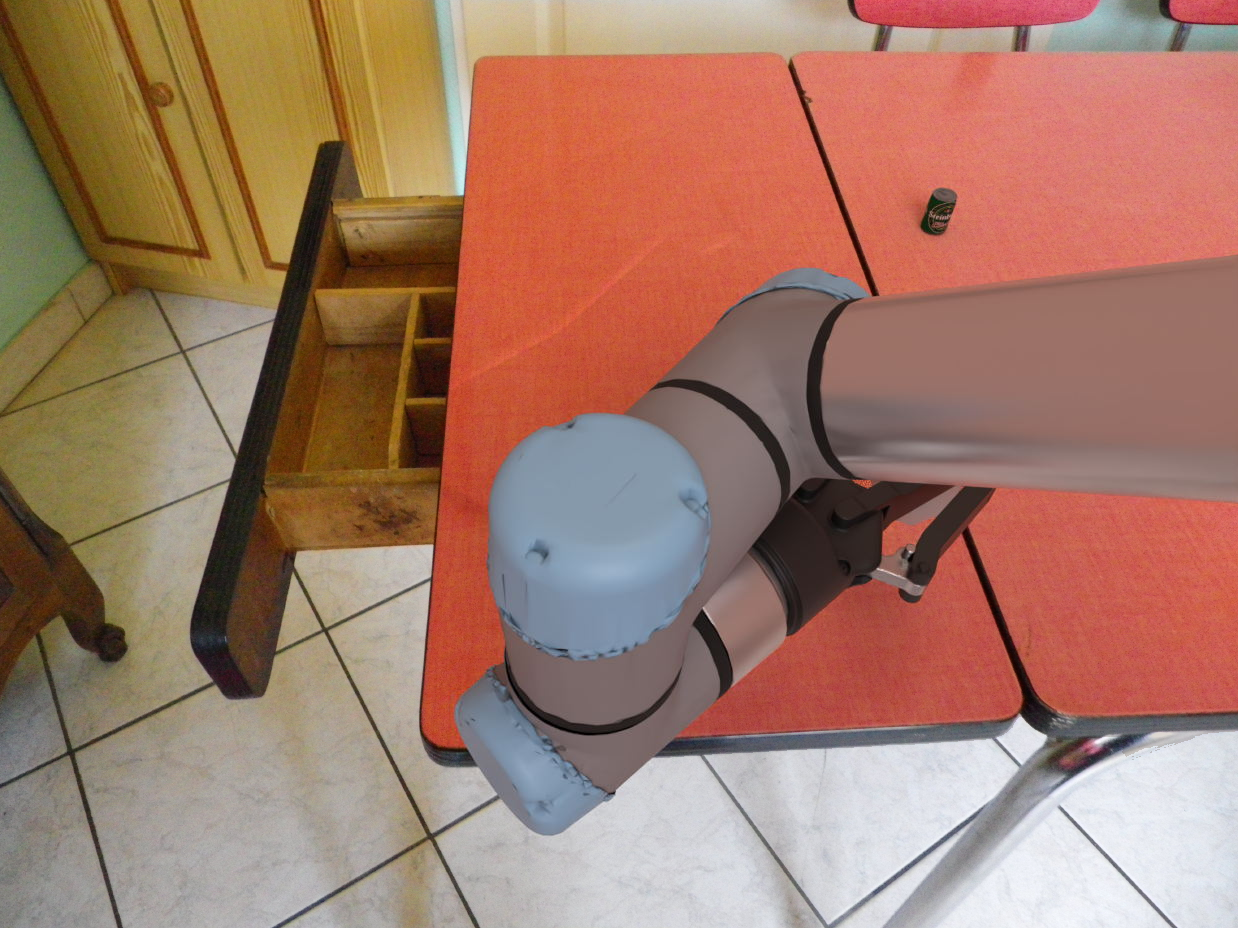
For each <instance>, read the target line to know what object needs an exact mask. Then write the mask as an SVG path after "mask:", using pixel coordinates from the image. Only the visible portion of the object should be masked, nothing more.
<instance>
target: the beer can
mask: <svg viewBox="0 0 1238 928" xmlns="http://www.w3.org/2000/svg"><path fill="white" fill-rule="evenodd" d="M957 199H958V194H957V193H956V191H955V190H953V189H951V188H948V187H937V188H935V189H934V190H933V191H932V193H931V195H930V197H929V199H928V202H927V204H926V207H925V210H924V213H923V216H922V219H921V223H920V227H921V229H922V231H924V232H925V233H926V234H929V235H934V236H938V235H942V234H944V233H945V232H946V231H947V229H948V227H949V223H950V221H951V218H952V215H953V213H954V210H955V208H956V205H957Z"/></svg>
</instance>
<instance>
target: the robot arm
mask: <svg viewBox="0 0 1238 928" xmlns="http://www.w3.org/2000/svg"><path fill="white" fill-rule="evenodd" d="M871 480H877V481H880V482H879V483H877V484H875V485H873V486H872V485H871V486H869V487H865V486H863V485H861V484H860V483H857V482H855V481H871ZM954 486H961V489H960V491H959V492H958V494H957V495H956V496H955V497H954V498H953V499H952V500H951V501H950V502H949V504H948V505H947V506H946V507H945V508H944V509H943V510H942V511H941V512H940V514H939V515H938V516H937V517H934V518H933V520H932V521H931V522H930V523H929V525H927V527H925V529H924V530H923V532H922V533H921V535H920V536H919V539H918V540H917V542H916V544H915V545H914V544H912V543H907V544H905V546H901V547H899V548H897V550H896V551H895V552H894V553H892V554H890V555H884V554H883V537H884V535H883V534H884V531H886V529H888V528H889V526H890V525H891V524H893V523H894V522H897V521H896V520H897V519H899V518H901V517H903V516H904V515H906V514H908V513H909V512H911V511H913V510H915V509H916V508H918V507H920V506H922V505H923V504H925V503H927V502H928V501H930V500H932V499H934V498H935V497H937V496H939V495H940V494H942V493H944V492H946V491H947V490H949V489H951V488H953V487H954ZM997 489H1004V490H1020V491H1035V492H1050V493H1051V492H1052V493H1067V494H1085V495H1098V496H1099V495H1100V496H1112V497H1113V496H1115V497H1130V498H1145V499H1160V500H1161V499H1163V500H1176V501H1177V500H1178V501H1194V502H1206V503H1207V502H1209V503H1224V504H1238V254H1233V255H1232V254H1231V255H1225V256H1224V255H1223V256H1215V257H1206V258H1197V259H1189V260H1180V261H1171V262H1164V263H1163V262H1161V263H1154V264H1144V265H1137V266H1126V267H1118V268H1110V269H1100V270H1093V271H1084V272H1083V271H1082V272H1075V273H1068V274H1067V273H1066V274H1057V275H1050V276H1042V277H1033V278H1032V277H1031V278H1023V279H1015V280H1005V281H999V282H998V281H997V282H989V283H988V282H987V283H979V284H971V285H963V286H961V285H960V286H953V287H946V288H945V287H944V288H936V289H928V290H919V291H910V292H909V291H908V292H900V293H893V294H884V295H876V296H873V295H871V294H870V293H869V292H868V291H866V290H865V289H864V288H863V287H862V286H861V285H859V283H857V282H855V281H853V280H851V279H850V278H848V277H847V276H838V275H836V274H833V273H831V272H827V271H824V269H823V268H820V267H798V268H792V269H788V270H786V271H783V272H779V273H777V274H776V275H774V276H771V278H769V279H768V280H766V281H765V282H764V283H762V284H761V285H759V287H757V288H756V289H755V290H754V291H752V292H750V293H748V294H745V295H744V296H743V297H742V298H741V299H739V301H737V302H736V303H735V304H734V305H731V306H730V307H728V308H727V310H726V311H725V312H723V314H722V316H721V317H720V318H719V319H718V320H717V322H716V323H715V325H714V327H713V328H712V329H711V330H709V332H708V333H707V334H706V335H704V337H702V338H701V340H699V342H698V343H696V344H695V346H693V347H692V348H691V349H690V350H689V351H688V352H687V353H686V354H685V355H684V356H683V357H682V358H681V359H680V360H679V361H677V363H676V364H674V365H673V367H672V368H671V369H670V370H668V372H666V373H665V374H664V375H663V376H662V377H661V378H660V379H659V380H658V381H657V382H656V383H655V384H654V385H653V386H652V387H651V388H650V389H649V390H648V391H647V392H646V393H644V394H643V395H642V396H641V397H640V398H639V399H637V400H636V401H635V403H633V404H632V405H631V406H630V407H629V408H628V409H627V410H626V411H625V412H624V413H623V414H620V413H618V414H617V413H612V412H588V413H587V412H586V413H580V414H577V415H574V416H573V418H571V420H569V421H566V422H562V423H560V424H559V423H558V424H556V425H553V426H549V425H543V426H541V427H539V428H538V429H536V430H534V431H533V432H531V433H530V434H529V435H527V436H526V437H524V438H523V439H522V440H521V441H520V442H519V443H517V444H516V445H515V446H514V447H513V449H511V451H510V452H509V453H508V454H507V456H506V457H505V459H504V460H503V462H502V463H501V464H500V465H499V468H498V469H497V472H496V474H495V477H494V478H493V482H492V483H491V487H490V492H489V498H488V503H487V508H488V509H487V510H488V511H487V512H488V539H487V549H488V550H487V556H486V557H487V558H486V569H487V574H488V576H487V577H488V582H489V583H488V584H489V588H490V591H491V593H492V595H493V599H494V602H495V606H496V607H497V612H498V616H499V620H500V625H501V629H502V633H503V638H504V651H503V661H502V662H500V663H498V664H494V665H491V666H489V667H488V668H487V669H485V672H484V674H483V675H482V676H481V677H480V678H479V679H478V680H477V681H476V682H474V684H472V685H471V686H470V687H469V688H468V689H467V690H465V692H463V693H462V694H461V695H460V696H459V699H458V700H457V701H456V704H455V707H454V710H453V711H454V713H453V714H454V716H453V718H454V721H455V725H456V728H457V729H456V730H457V731H458V734H459V735H460V738H461V739H462V742H463V743H464V745H465V747H466V749H467V751H468V753H469V754H470V756H471V757H472V759H473V761H474V763H475V764H476V766H477V767H478V769H479V770H480V772H481V773H482V776H483V777H484V778H485V779H486V780H487V782H488V784H489V785H490V787H491V788H492V789H493V790H494V792H495V794H496V795H497V796H498V797H499V799H500V800H501V801H502V802H503V803H504V805H505V807H507V808H508V810H509V811H510V812H511V813H512V814H513V815H514V816H515V817H516V819H517V820H518V821H520V823H522V824H523V825H524V826H525V827H526V828H528V830H530V831H531V832H533V833H534V834H538V835H540V836H545V837H553V836H556V835H557V836H558V835H560V834H562V833H564V832H565V831H567V830H568V829H569V828H570V827H572V826H573V825H574V824H575V823H577V822H578V821H580V820H581V819H583V818H584V817H585V816H586V815H587V814H589V813H590V812H592V811H593V810H594V809H595V808H597V807H598V806H600V805H601V804H602V803H603V802H604V803H607V802H610V801H611V800H612V799H614V797H615V796H616V793H617V790H618V789H619V788H620V787H622V785H623V784H625V783H626V782H627V781H628V780H629V779H630V778H631V777H632V776H634V775H635V774H636V773H637V772H638V771H639V770H640V769H642V768H643V767H644V766H645V765H646V764H647V763H648V762H650V761H651V760H652V759H653V758H654V757H655V756H656V755H658V754H659V752H661V751H662V750H664V748H665V747H667V745H668V744H670V743H671V742H672V741H674V739H676V738H677V737H678V736H679V735H680V734H681V733H682V732H683V731H684V730H685V729H687V728H688V727H690V725H691V724H693V723H694V722H695V721H696V720H697V719H698V718H699V717H700V716H701V715H703V714H704V713H705V712H706V711H707V710H708V709H709V708H711V707H712V706H713V704H715V703H716V701H718V700H719V699H720V698H721V697H722V696H724V695H725V694H726V693H727V692H728V691H729V690H731V688H732V687H734V686H735V685H737V683H739V682H740V681H741V680H742V679H743V678H744V677H746V676H747V675H748V674H749V673H751V672H752V671H753V670H754V669H755V668H757V667H758V666H759V665H760V664H761V663H762V662H764V661H765V660H766V659H767V658H768V657H770V656H771V655H772V654H773V653H774V652H775V651H776V650H778V649H780V647H781V646H782V645H783V644H784V642H785V640H786V638H787V637H791V636H793V635H795V634H796V633H798V632H799V631H800V630H801V629H802V628H803V627H805V626H806V625H807V624H808V623H809V622H810V621H811V620H812V619H814V618H815V617H816V616H817V615H818V614H819V613H821V612H822V611H823V610H824V609H826V607H827V606H828V605H830V604H831V603H833V601H834V600H835V599H836V598H838V597H839V596H840V595H841V594H842V593H843V592H845V591H846V590H848V589H850V588H854V587H859V586H864V585H866V584H869V583H870V582H871V581H872V580H873V579H874V580H875V581H879V582H881V583H884V584H887V585H890V586H893V587H895V588H898V595H899V597H900V598H901V600H902V601H904V602H906V603H908V604H917V603H918V602H920V601H921V599H922V597H923V596H924V594H925V592H926V590H927V589H928V587H929V585H930V583H931V581H932V579H933V578H934V577H935V574H936V572H937V567H938V562H939V560H940V559H941V558H942V557H943V556H944V555H945V553H946V552H947V551H948V550H949V548H950V547H951V546H952V545H953V544H954V543H955V542H956V540H958V538H959V537H960V536H961V535H962V533H963V532H964V531H965V530H966V529H967V528H968V527H969V525H970V524H971V523H972V522H973V521H974V519H976V517H977V516H978V515H979V513H981V512H982V510H983V509H984V508H985V507H986V505H987V504H988V503H989V502H990V500H991V498H992V497H993V495H994V493H995V492H996V490H997Z"/></svg>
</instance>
